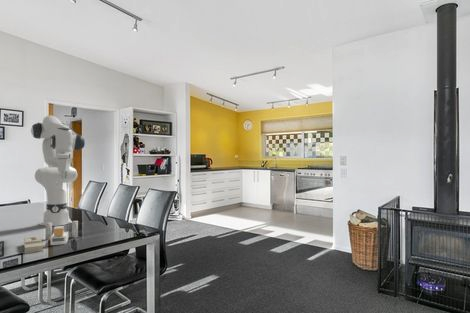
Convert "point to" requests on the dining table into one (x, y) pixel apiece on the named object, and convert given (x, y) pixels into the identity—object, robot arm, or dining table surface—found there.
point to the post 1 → (48, 231)
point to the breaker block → (59, 239)
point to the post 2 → (74, 229)
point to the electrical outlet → (33, 244)
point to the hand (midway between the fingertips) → (64, 178)
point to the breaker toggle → (58, 231)
